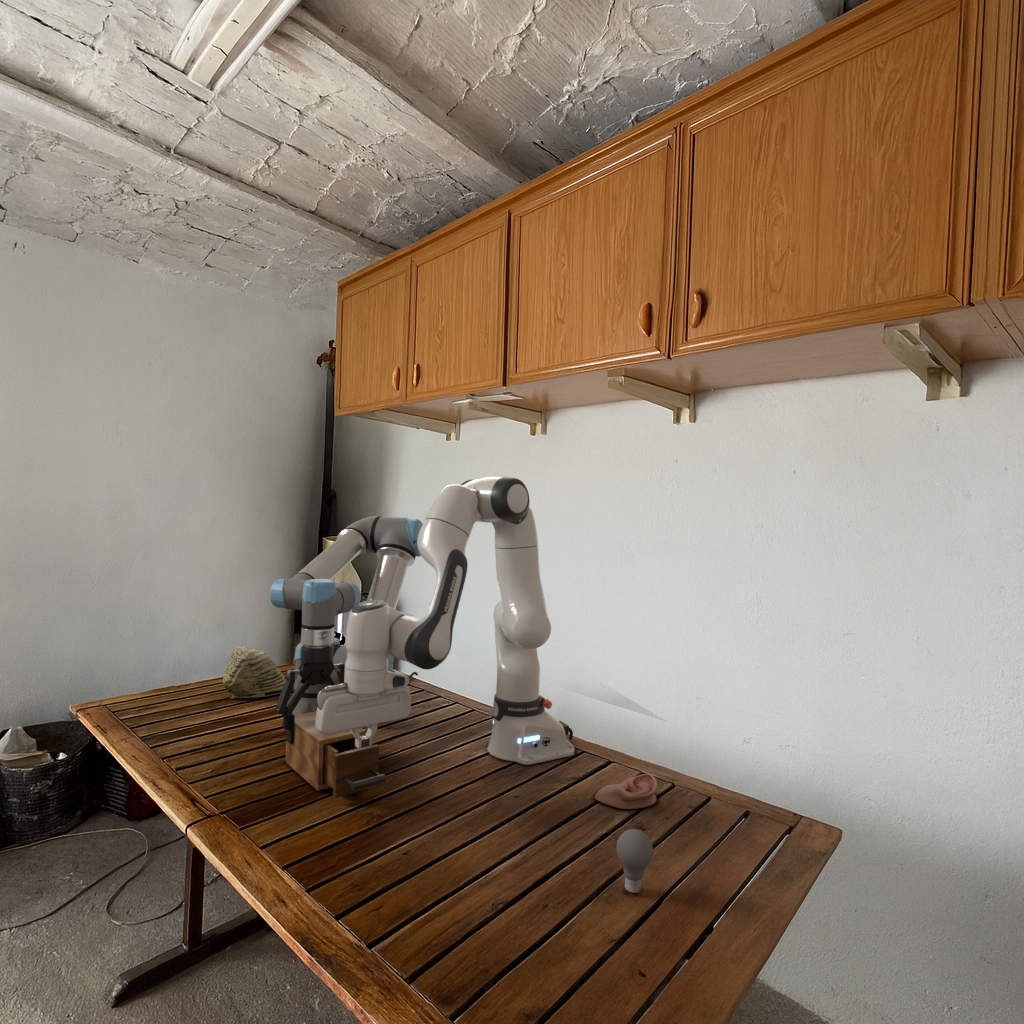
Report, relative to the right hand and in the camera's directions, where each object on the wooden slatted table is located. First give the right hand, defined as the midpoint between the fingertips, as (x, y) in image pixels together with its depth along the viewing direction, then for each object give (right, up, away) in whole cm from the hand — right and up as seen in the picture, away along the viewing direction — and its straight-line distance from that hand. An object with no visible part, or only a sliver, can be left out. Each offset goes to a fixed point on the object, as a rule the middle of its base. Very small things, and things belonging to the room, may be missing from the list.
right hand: (363, 746), depth 131 cm
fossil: (-50, -9, +67) cm, 84 cm away
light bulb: (+51, -15, -26) cm, 59 cm away
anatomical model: (+56, -14, +8) cm, 58 cm away
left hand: (-16, -5, +19) cm, 26 cm away
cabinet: (-13, -11, +15) cm, 22 cm away
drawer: (-6, -10, +6) cm, 13 cm away
